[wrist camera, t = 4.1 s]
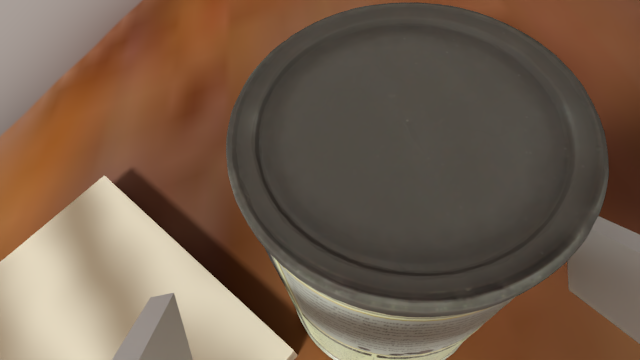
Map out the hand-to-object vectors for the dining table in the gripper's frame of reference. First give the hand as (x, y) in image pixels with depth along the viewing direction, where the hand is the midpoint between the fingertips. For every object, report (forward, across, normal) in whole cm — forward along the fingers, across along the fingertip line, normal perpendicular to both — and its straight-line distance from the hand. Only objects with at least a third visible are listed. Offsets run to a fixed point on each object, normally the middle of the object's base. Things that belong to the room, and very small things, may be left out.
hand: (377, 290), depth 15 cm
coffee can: (+9, +2, -4) cm, 10 cm away
